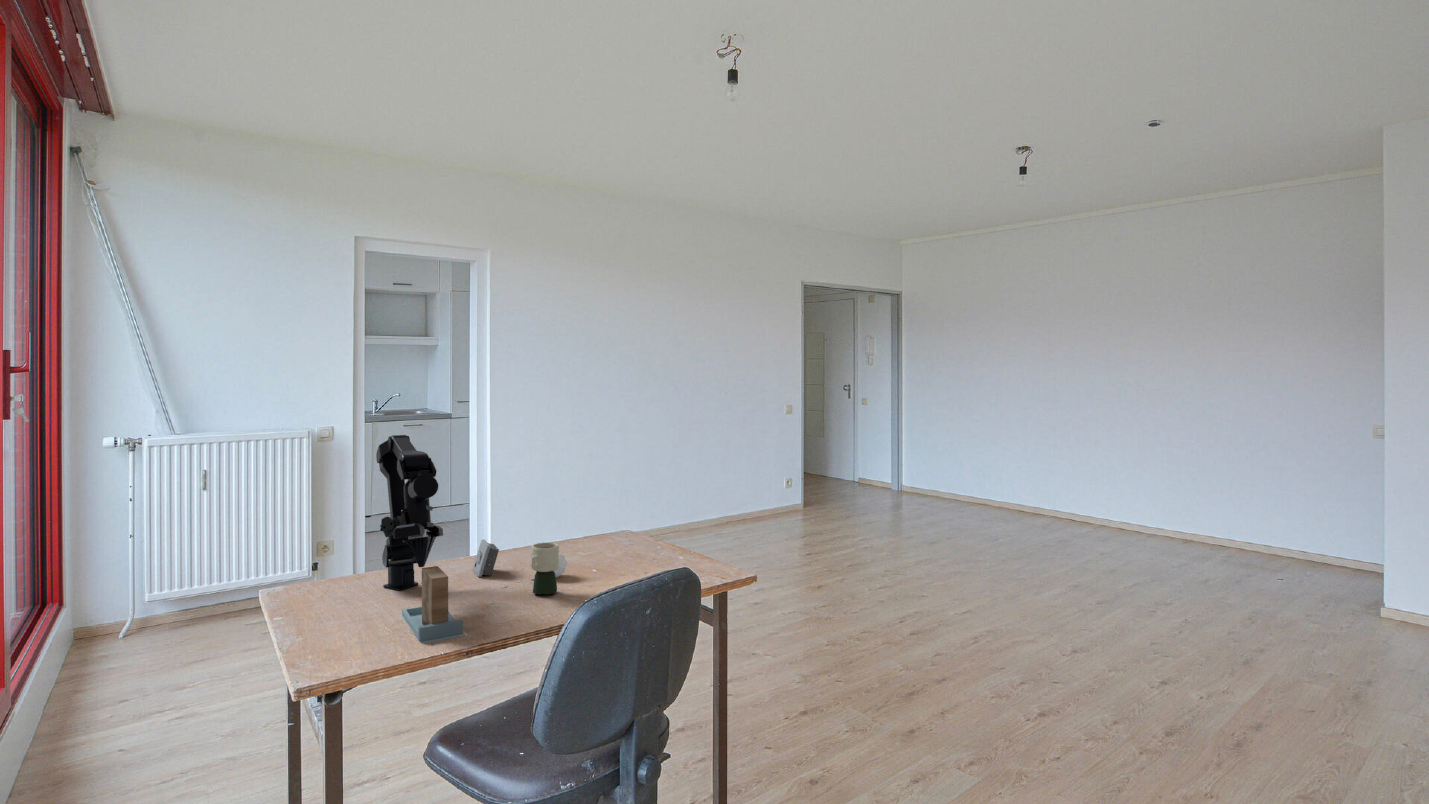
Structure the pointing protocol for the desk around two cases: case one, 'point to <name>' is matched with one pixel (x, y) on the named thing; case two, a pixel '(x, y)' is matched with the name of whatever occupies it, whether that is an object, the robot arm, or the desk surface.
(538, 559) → the character mug
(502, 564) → the desk surface
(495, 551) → the electrical switch
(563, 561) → the geometric ball
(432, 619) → the brown wooden block
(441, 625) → the slot base
